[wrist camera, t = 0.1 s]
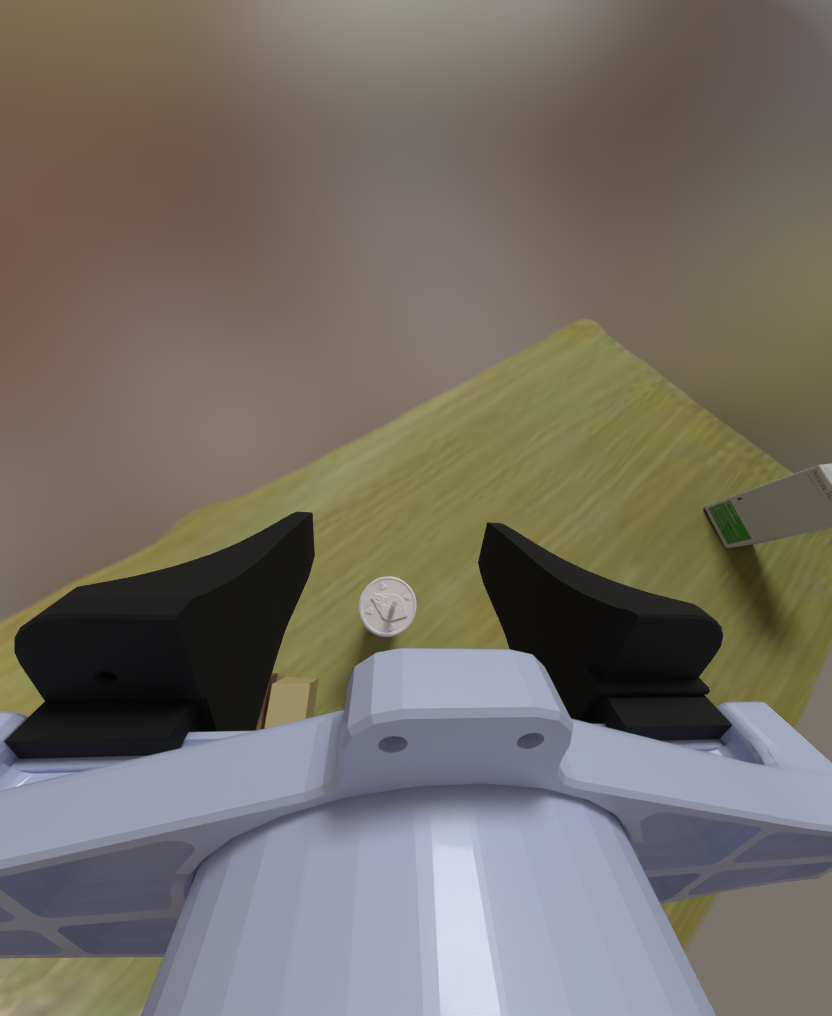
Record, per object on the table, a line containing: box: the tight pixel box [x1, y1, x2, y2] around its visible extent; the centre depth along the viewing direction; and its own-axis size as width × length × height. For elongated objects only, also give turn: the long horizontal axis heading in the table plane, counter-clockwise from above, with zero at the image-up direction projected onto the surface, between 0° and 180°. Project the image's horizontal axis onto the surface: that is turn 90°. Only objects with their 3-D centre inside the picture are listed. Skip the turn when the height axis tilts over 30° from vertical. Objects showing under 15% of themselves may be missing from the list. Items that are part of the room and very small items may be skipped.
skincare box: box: [704, 464, 832, 548], centre depth 47 cm, size 8×7×16 cm
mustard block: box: [265, 678, 318, 728], centre depth 34 cm, size 4×4×5 cm
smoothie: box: [359, 577, 417, 637], centre depth 35 cm, size 6×6×14 cm
